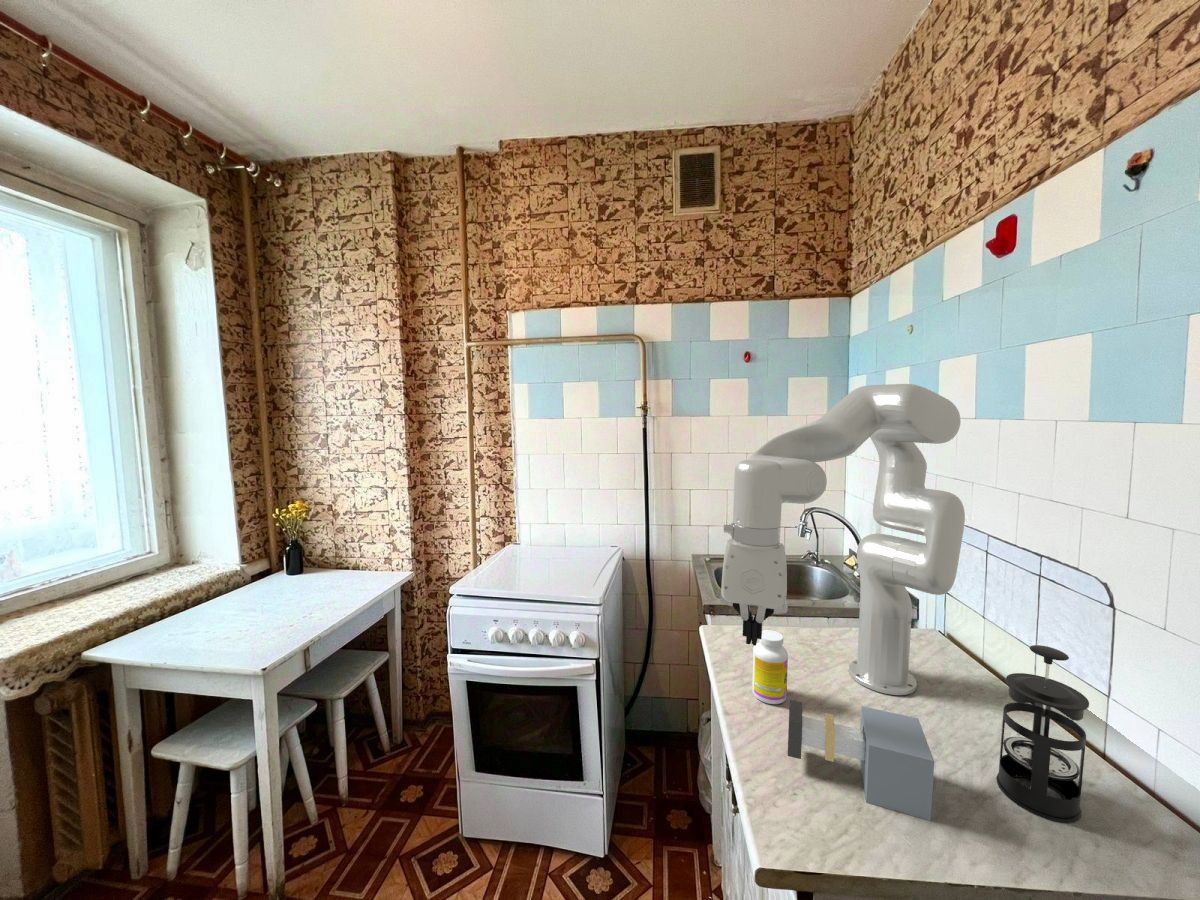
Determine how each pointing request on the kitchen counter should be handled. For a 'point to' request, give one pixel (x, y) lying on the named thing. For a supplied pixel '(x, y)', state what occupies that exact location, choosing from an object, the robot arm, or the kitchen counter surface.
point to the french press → (1043, 744)
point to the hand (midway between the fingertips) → (751, 641)
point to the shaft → (823, 735)
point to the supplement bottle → (770, 668)
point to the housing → (896, 763)
